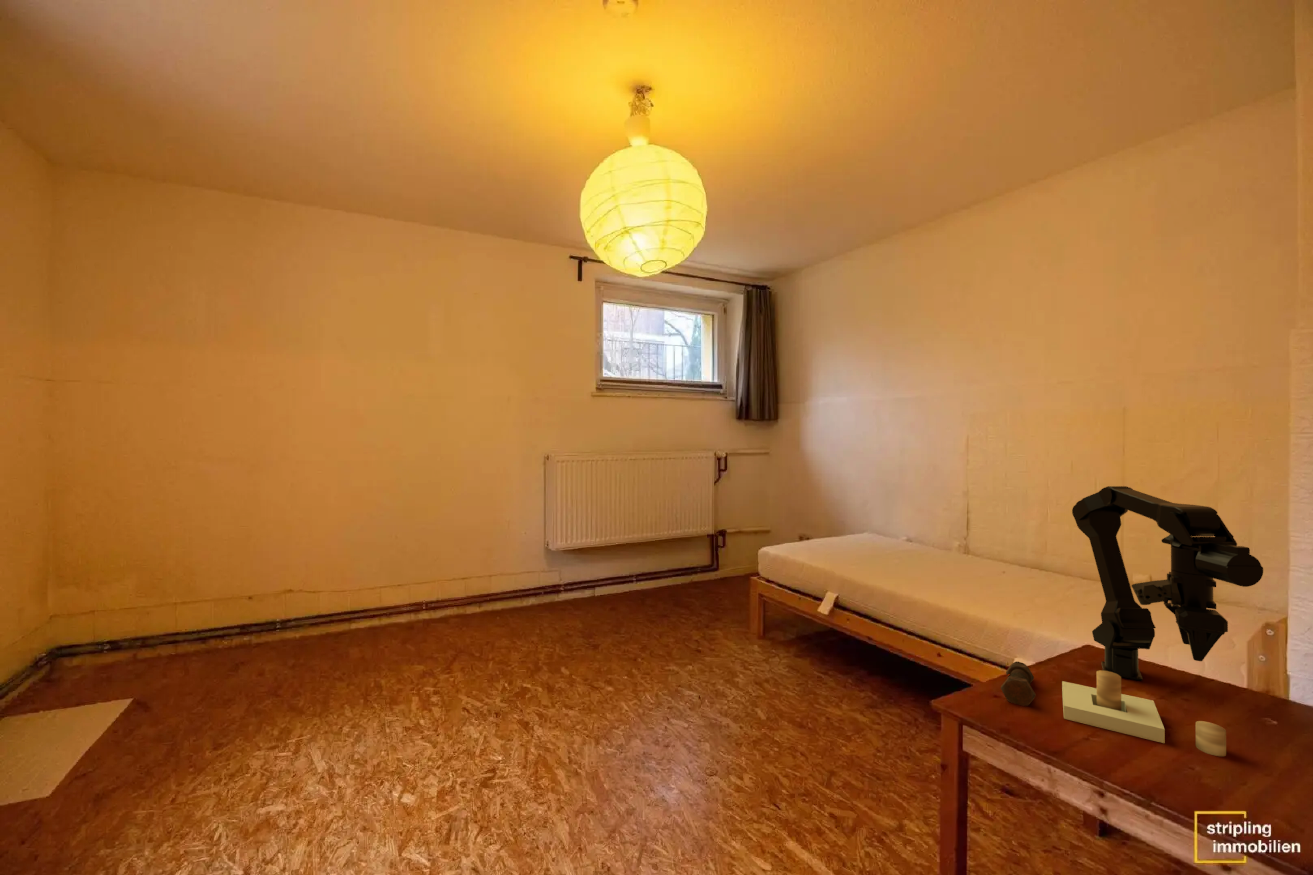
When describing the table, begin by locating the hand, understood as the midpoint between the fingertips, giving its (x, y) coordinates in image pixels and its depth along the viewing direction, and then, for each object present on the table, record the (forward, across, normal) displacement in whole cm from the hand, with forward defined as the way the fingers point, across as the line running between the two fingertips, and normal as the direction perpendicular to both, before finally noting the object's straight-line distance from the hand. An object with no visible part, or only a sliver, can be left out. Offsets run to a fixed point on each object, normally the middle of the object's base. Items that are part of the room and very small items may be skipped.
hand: (1192, 651), depth 101 cm
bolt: (+12, +7, -27) cm, 31 cm away
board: (+12, +10, -13) cm, 20 cm away
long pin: (+12, +10, -13) cm, 20 cm away
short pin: (+12, +14, 0) cm, 19 cm away
